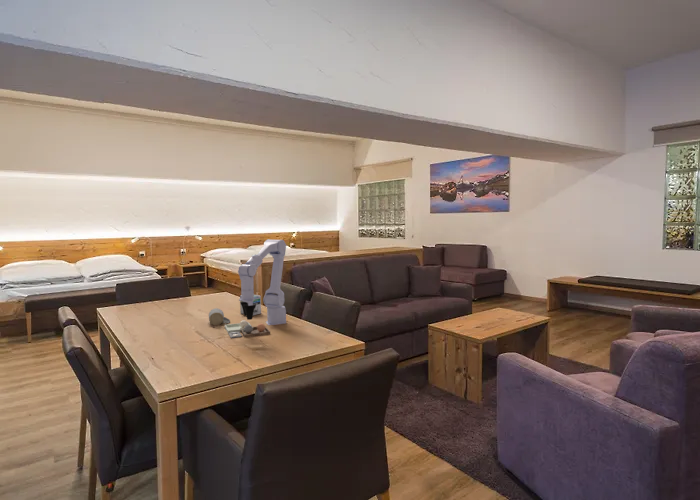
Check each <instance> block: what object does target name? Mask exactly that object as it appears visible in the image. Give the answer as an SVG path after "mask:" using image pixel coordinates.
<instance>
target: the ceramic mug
mask: <svg viewBox="0 0 700 500" xmlns="http://www.w3.org/2000/svg"><path fill="white" fill-rule="evenodd" d="M224 314H225V313H224V311H223V310H222V309H221V308H217V307H216V308H213V309H211V310H210V311H209V313H208V320H209V323H210V324H211V325H212V326H220V325H221V324H225V325H227V324H231V319H229V318H228V317H225V315H224Z"/></svg>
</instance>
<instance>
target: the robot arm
mask: <svg viewBox="0 0 700 500" xmlns="http://www.w3.org/2000/svg"><path fill="white" fill-rule="evenodd" d="M286 249H287V244H286V241H284V239H271V238H270V239H269V238H268V239H266V240H265V241H264V242H263V246H262V247H261V249H260V250H259V251H258V253H257V254H252V255H251V257H250V258H249V259H248V260H247V261H246V262H245V263H242V264H241V265H239V266H238V270H237V273H238V276H239V280H240V289H241V290H240V294H241V298H242V299H240V298H239V299H238V301H239V304H240V303H241V305H242V308H243V312H244V314H243V316H244V317H246V319H247V320H248V321H250V320H253V317H254V315H253V312H254V309H255V307H256V305H253V301H254V295H255V291H254V287H255V285H254V282H255V281H254V276H255V275H256V273H257V270H258V268H259V267H261V265H262V264H263V259H264V258H266V256H268V255H270V256H272V258H273V259H272V260H273V262H272V268H271V275H270V276H271V277H270V284H269V288H268V289H266V290H265V294H264V296H263V300H262V301H263V304H264V305H265V307H266V311H267V312H266V314H267V315H266V317H267V320H266V321H265V324H267V326H275V325H284V324H287V311H286V310H287V309H286V306H285V305H284V304H285V292H284V291H283V290H282V288H281V283H282V278H283V276H282V275H283V268H284V259H285V256H286ZM240 301H241V302H240ZM247 320H246V321H247Z"/></svg>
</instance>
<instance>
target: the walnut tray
mask: <svg viewBox="0 0 700 500" xmlns="http://www.w3.org/2000/svg"><path fill="white" fill-rule="evenodd" d="M257 326H258V325H257ZM257 326H252V327H253V331H252V332H251V333H246V332H245V331H243V330H242V329H244V328H240V329H241V332H240V334H241V335H242V337H244V338H251V337H258V336H259V337H260V336H266V335H271V331H270V329H268V327H267V326H265V330H264V331H263V332H259V331H258V330H257Z"/></svg>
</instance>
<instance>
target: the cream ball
mask: <svg viewBox="0 0 700 500" xmlns="http://www.w3.org/2000/svg"><path fill="white" fill-rule="evenodd" d="M239 323H240V327H241V328H245V326H246V325H248V321H247V320H245V319H243V320H240V322H239Z"/></svg>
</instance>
